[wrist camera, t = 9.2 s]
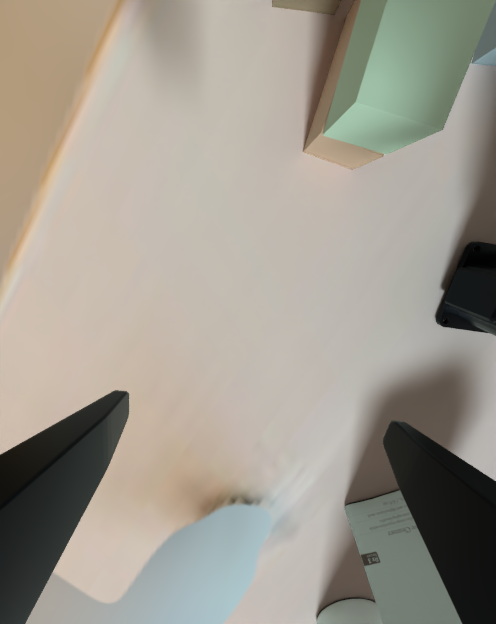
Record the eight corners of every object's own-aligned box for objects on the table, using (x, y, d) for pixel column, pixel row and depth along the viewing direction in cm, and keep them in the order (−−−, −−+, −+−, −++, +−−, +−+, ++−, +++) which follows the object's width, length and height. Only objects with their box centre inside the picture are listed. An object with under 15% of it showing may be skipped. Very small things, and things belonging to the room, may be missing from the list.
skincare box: (416, 481, 27) (606, 763, 13) (427, 517, 29) (602, 797, 15) (338, 506, 28) (438, 795, 14) (353, 539, 30) (454, 823, 16)
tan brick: (346, 15, 15) (383, -54, 11) (401, 40, 15) (455, -19, 11) (302, 152, 17) (320, 132, 13) (352, 170, 17) (383, 156, 14)
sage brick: (376, -54, 11) (447, -196, 7) (450, -25, 11) (555, -146, 8) (322, 135, 13) (355, 101, 9) (386, 154, 14) (442, 129, 10)
